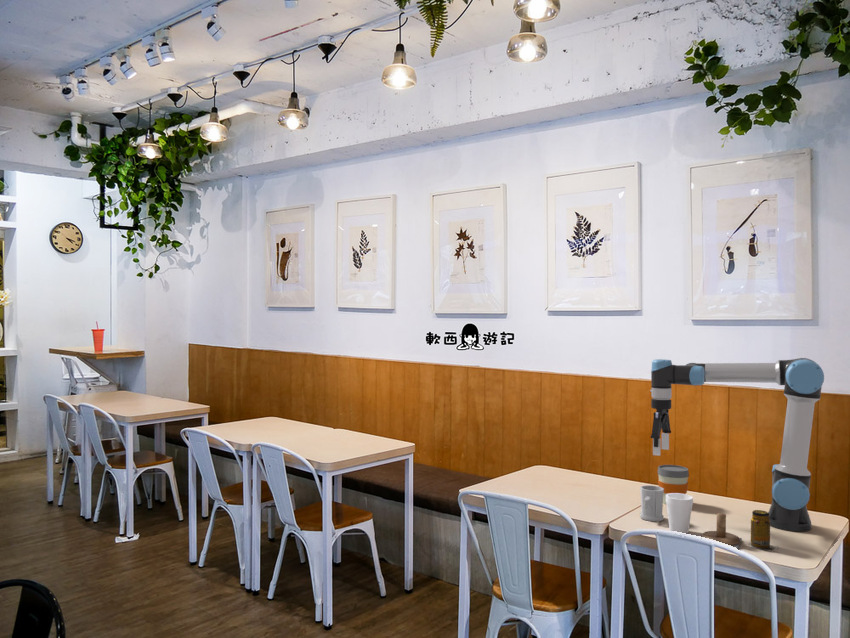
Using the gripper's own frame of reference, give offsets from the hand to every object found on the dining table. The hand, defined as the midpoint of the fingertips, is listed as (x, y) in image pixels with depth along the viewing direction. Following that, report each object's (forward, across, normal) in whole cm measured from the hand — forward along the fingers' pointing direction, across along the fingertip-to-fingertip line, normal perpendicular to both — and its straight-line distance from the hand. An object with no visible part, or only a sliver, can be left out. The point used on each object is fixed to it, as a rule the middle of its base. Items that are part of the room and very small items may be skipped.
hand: (661, 452), depth 266 cm
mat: (+26, +18, +25) cm, 40 cm away
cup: (+26, +4, -2) cm, 26 cm away
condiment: (+26, +14, +38) cm, 48 cm away
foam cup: (+26, +14, +10) cm, 31 cm away
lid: (+25, +18, +25) cm, 40 cm away
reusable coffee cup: (+26, -24, -1) cm, 35 cm away
